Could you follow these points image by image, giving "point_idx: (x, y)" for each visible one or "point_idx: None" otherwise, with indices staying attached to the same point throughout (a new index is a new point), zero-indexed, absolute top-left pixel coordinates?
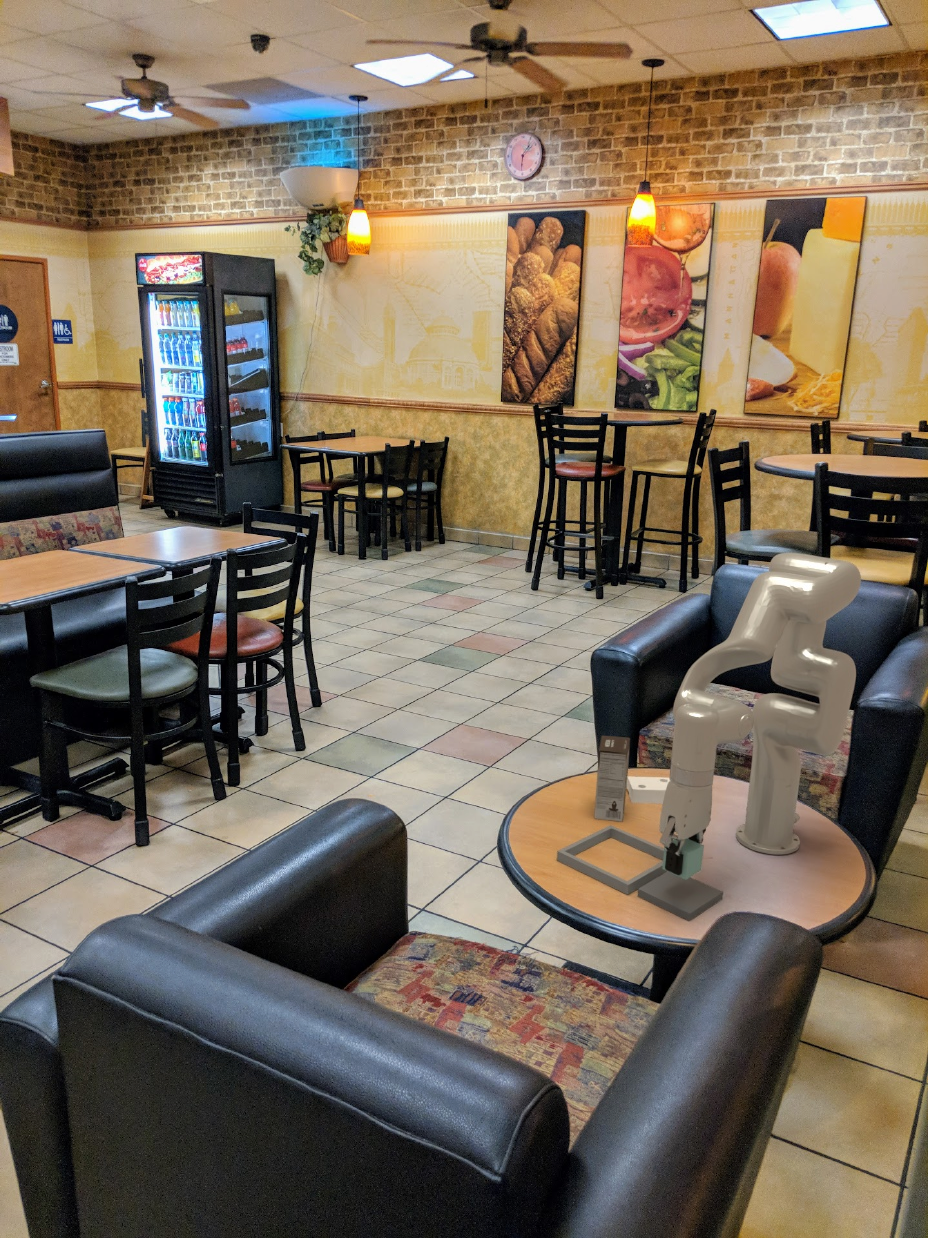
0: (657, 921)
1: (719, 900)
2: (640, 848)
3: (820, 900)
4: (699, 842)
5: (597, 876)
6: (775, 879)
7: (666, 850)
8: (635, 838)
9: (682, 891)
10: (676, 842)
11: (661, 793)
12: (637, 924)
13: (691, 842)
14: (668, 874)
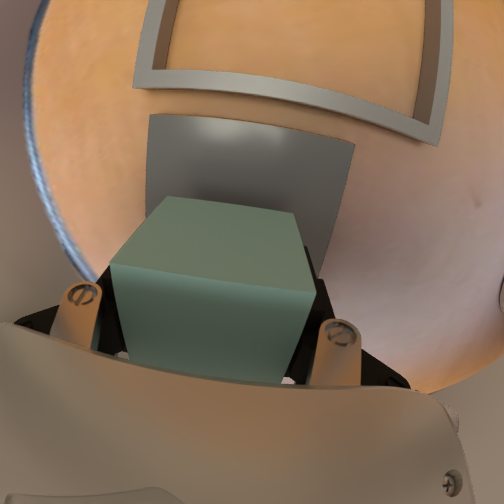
0: (102, 217)
1: None
2: (428, 22)
3: None
4: (294, 382)
5: None
6: (430, 329)
7: (76, 291)
8: (442, 2)
9: None
10: (192, 311)
11: None
12: (64, 191)
13: (263, 365)
14: (311, 147)
